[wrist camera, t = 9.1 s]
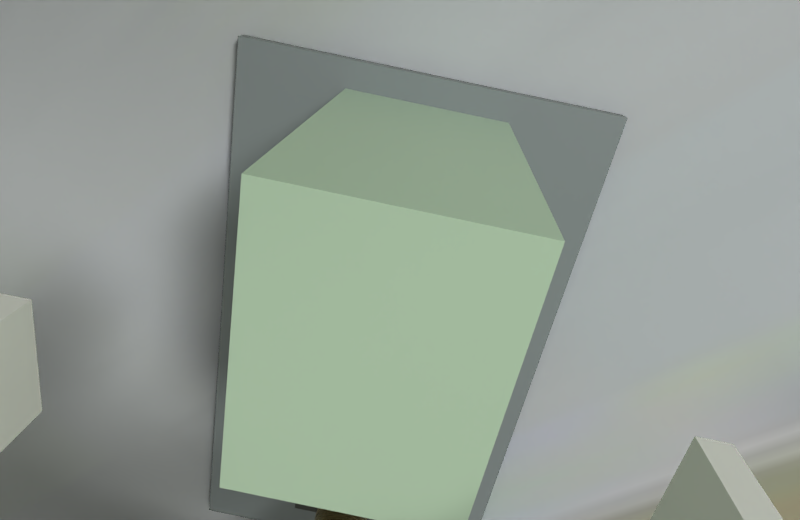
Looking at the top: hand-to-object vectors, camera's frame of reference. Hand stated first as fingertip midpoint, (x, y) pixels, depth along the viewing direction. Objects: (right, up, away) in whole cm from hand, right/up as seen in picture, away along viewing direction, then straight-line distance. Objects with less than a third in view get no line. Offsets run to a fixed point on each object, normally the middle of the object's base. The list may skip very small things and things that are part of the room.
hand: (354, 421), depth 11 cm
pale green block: (+1, +5, +11) cm, 12 cm away
